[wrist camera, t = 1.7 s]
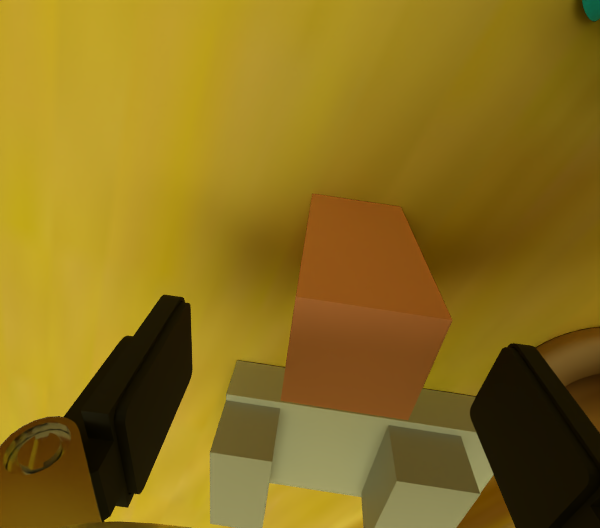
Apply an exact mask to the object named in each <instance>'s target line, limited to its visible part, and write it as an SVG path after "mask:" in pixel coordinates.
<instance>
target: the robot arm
mask: <svg viewBox="0 0 600 528" xmlns="http://www.w3.org/2000/svg"><path fill="white" fill-rule="evenodd" d="M191 375H192V341H191V309H190V304H189V303H185V300H184V298H183V297H177V296H170V295H163V296H162V297H161V298H160V299H159V301H158V302H157V303H156V305H155V306H154V308H153V309H152V311H151V312H150V313H149V315H148V316H147V318H146V319H145V320H144V322H143V323H142V325H141V326H140V327H139V329H138V330H137V332H136V333H135V335H134V336H125V337H124V338H123V339H122V340H121V341H120V342H119V343H118V345H117V346H116V347H115V349H114V350H113V351H112V353H111V354H110V355H109V357H108V358H107V359H106V361H105V362H104V363H103V365H102V366H101V367H100V369H99V370H98V372H97V373H96V374H95V376H94V377H93V378H92V380H91V381H90V382H89V384H88V385H87V386H86V388H85V389H84V390H83V392H82V393H81V394H80V396H79V397H78V398H77V400H76V401H75V402H74V404H73V405H72V406H71V408H70V409H69V411H68V412H67V413H66V415H65V416H64V417H60V416H56V417H46V418H42V419H38V420H35V421H33V422H31V423H29V424H26V425H24V426H22V427H21V428H19V429H18V430H17V431H15V432H14V433H12V434H11V435H10V436H9V437H8V438H7V439H6V440H5V441H4V442H3V443H2V444H1V446H0V528H190V527H181V526H172V525H163V524H153V523H135V522H105V521H104V520H105V519H107V518H108V517H110V516H111V514H112V512H113V509H114V507H115V506H120V507H128V506H129V504H130V502H131V500H132V497H133V495H134V494H140V493H141V492H142V490H143V489H144V487H145V484H146V482H147V480H148V477H149V475H150V473H151V470H152V468H153V466H154V463H155V461H156V459H157V456H158V454H159V452H160V449H161V447H162V445H163V442H164V440H165V438H166V435H167V433H168V431H169V428H170V426H171V424H172V421H173V419H174V417H175V414H176V412H177V410H178V407H179V405H180V402H181V400H182V398H183V395H184V393H185V391H186V388H187V386H188V384H189V381H190V379H191ZM470 418H471V421H472V423H473V426H474V428H475V431H476V433H477V435H478V438H479V440H480V443H481V445H482V447H483V450H484V452H485V455H486V457H487V459H488V462H489V464H490V467H491V469H492V472H493V474H494V476H495V479H496V481H497V484H498V486H499V488H500V491H501V493H502V496H503V498H504V501H505V503H506V505H507V508H508V510H509V513H510V515H511V517H512V520H513V522H514V525H515V527H516V528H600V433H599V431H598V430H597V429H596V427H595V426H594V425H593V423H592V422H591V421H590V419H589V418H588V417H587V415H586V414H585V413H584V411H583V410H582V409H581V407H580V406H579V405H578V403H577V402H576V401H575V399H574V398H573V397H572V395H571V394H570V393H569V391H568V390H567V389H566V387H565V386H564V385H563V383H562V382H561V381H560V379H559V378H558V377H557V375H556V374H555V373H554V371H553V370H552V369H551V367H550V366H549V365H548V363H547V362H546V361H545V359H544V358H543V357H542V355H541V354H540V353H539V351H538V350H537V349H536V348H535V347H533V346H529V345H522V344H515V343H513V344H510V345H508V347H505V348H503V349H502V350H501V352H500V354H499V356H498V358H497V359H496V361H495V363H494V365H493V367H492V369H491V370H490V372H489V374H488V376H487V378H486V380H485V381H484V383H483V385H482V387H481V389H480V391H479V393H478V394H477V396H476V398H475V400H474V402H473V404H472V405H471V408H470Z"/></svg>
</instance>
